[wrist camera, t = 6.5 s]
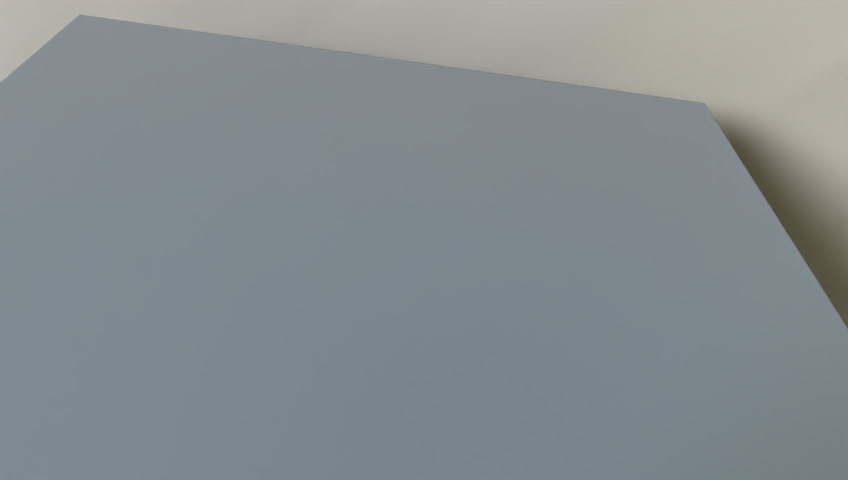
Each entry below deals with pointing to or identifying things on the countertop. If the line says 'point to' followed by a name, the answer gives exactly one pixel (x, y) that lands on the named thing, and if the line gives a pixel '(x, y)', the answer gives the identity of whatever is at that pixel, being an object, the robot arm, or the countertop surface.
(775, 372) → the grey-blue cube
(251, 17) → the countertop surface
